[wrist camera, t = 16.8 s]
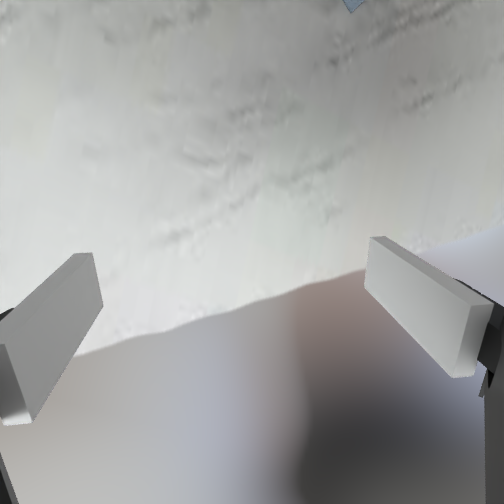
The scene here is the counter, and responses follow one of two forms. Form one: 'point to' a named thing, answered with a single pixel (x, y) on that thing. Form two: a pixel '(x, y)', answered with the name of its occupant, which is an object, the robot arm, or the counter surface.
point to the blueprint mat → (352, 4)
